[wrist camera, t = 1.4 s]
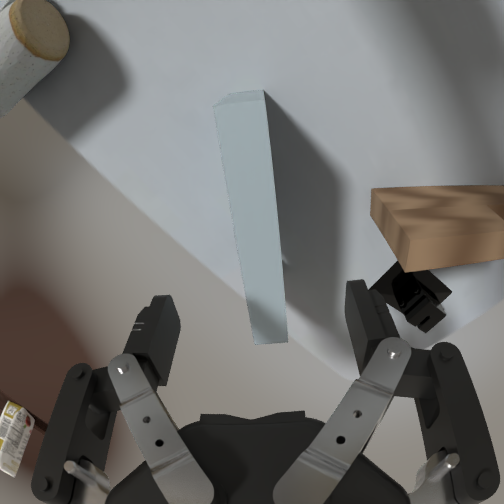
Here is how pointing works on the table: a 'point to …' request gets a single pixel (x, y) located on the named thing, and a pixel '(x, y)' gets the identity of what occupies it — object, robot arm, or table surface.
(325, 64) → the table surface
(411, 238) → the brown wooden board
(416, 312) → the black plastic bracket
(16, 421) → the juice carton
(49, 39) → the ceramic mug
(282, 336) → the blue grey block
